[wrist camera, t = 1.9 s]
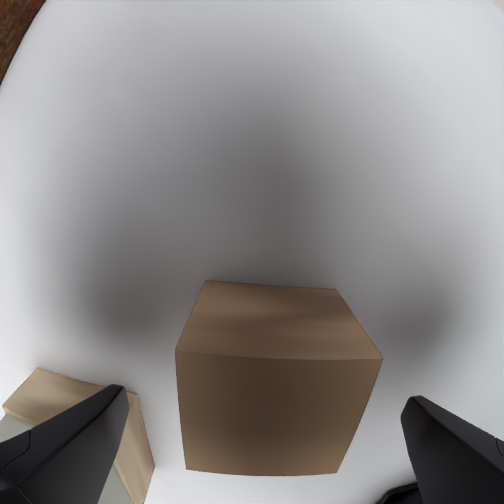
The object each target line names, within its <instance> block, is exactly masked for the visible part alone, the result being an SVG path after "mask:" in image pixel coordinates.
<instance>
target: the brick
mask: <svg viewBox="0 0 504 504" xmlns="http://www.w3.org/2000/svg"><path fill="white" fill-rule="evenodd" d="M44 2H45V0H0V84H1V82H2V80H3V77H4V75H5V73H6V70H7V68H8V66H9V64H10V62H11V60H12V58H13V56H14V54H15V52H16V50H17V48H18V46H19V44H20V42H21V40H22V38H23V36H24V34H25V32H26V31H27V29H28V27H29V26H30V24H31V22H32V20H33V19H34V17H35V15H36V14H37V13H38V11H39V9H40V8H41V6H42V5H43V3H44Z"/></svg>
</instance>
